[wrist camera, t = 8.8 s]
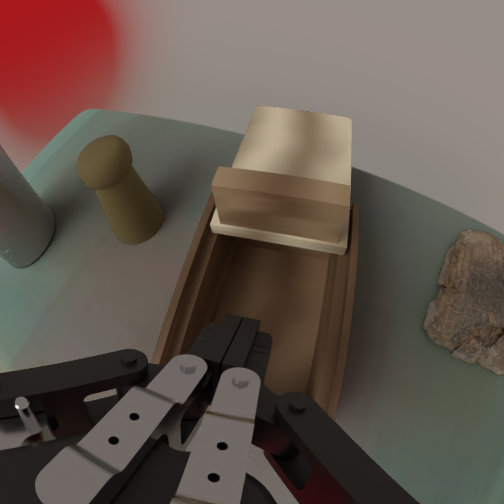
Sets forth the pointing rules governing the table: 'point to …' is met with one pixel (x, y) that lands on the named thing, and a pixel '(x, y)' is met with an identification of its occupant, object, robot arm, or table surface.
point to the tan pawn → (120, 189)
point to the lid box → (270, 305)
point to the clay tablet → (471, 301)
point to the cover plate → (295, 159)
